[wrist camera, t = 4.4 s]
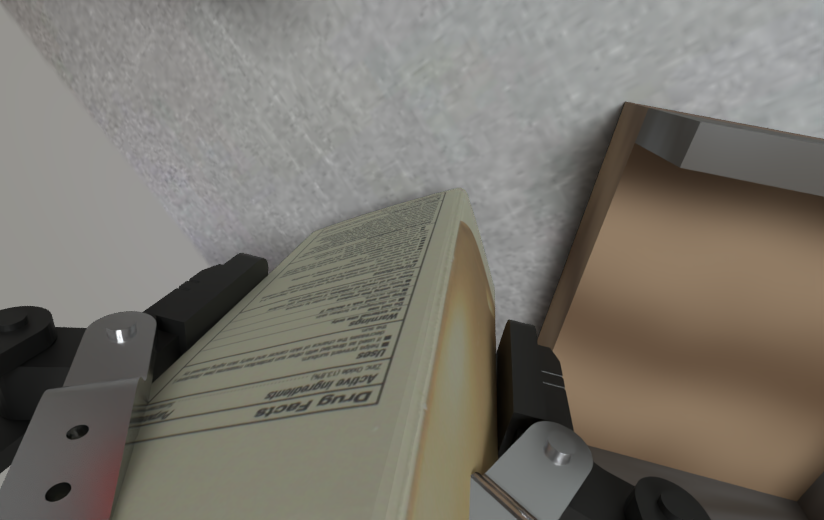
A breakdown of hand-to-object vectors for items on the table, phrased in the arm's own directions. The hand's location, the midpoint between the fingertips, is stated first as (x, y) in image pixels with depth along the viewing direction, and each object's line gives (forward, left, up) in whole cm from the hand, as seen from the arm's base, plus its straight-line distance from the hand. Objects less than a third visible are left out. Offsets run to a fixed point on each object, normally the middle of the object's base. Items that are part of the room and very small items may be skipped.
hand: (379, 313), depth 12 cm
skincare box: (0, 0, -4) cm, 4 cm away
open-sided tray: (0, +12, -6) cm, 14 cm away
